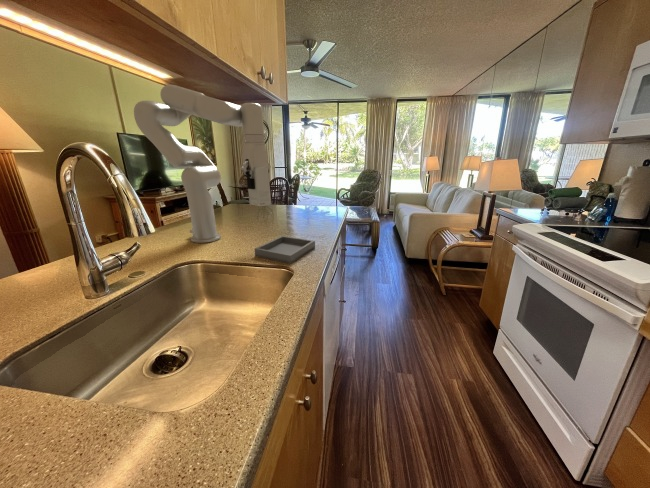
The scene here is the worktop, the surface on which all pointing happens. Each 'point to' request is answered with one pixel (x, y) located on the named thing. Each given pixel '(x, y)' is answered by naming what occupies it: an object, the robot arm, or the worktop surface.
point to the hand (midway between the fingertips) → (258, 187)
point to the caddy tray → (285, 249)
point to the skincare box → (260, 188)
